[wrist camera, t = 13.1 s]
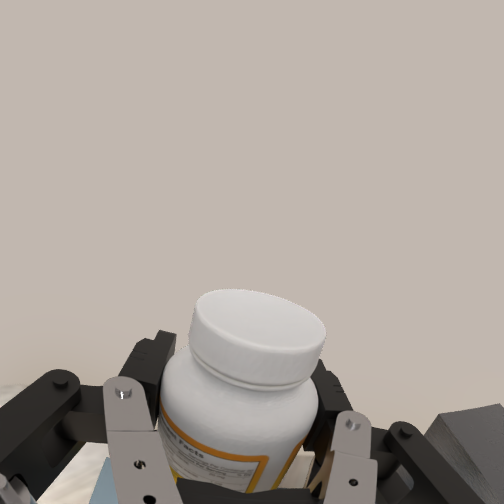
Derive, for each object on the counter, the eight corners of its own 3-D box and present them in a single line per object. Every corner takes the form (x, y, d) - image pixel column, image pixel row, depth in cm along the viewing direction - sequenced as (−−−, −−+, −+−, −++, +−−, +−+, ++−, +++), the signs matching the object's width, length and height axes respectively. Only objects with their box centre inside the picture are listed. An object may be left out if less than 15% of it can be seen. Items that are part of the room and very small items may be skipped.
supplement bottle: (234, 438, 14) (280, 281, 12) (288, 507, 10) (383, 345, 8) (140, 455, 11) (151, 275, 9) (182, 544, 7) (221, 383, 5)
